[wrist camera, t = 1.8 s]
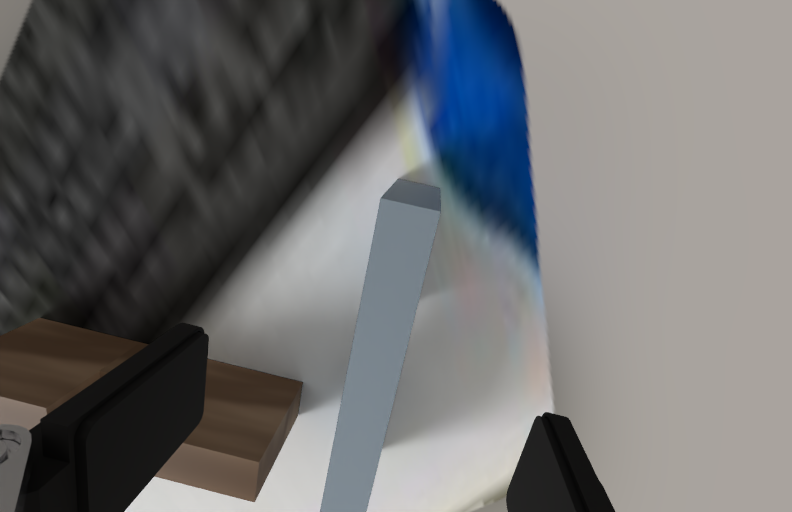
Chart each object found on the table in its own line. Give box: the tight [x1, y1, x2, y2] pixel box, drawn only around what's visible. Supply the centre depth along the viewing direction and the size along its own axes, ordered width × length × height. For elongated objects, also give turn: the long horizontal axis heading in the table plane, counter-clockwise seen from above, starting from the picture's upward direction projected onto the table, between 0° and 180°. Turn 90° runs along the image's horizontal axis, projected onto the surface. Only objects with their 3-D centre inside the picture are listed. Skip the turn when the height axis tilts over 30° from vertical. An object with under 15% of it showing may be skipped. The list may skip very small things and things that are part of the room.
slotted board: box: [0, 318, 303, 502], centre depth 25 cm, size 3×20×7 cm, turn 78°
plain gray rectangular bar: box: [320, 179, 441, 512], centre depth 22 cm, size 20×2×7 cm, turn 168°
